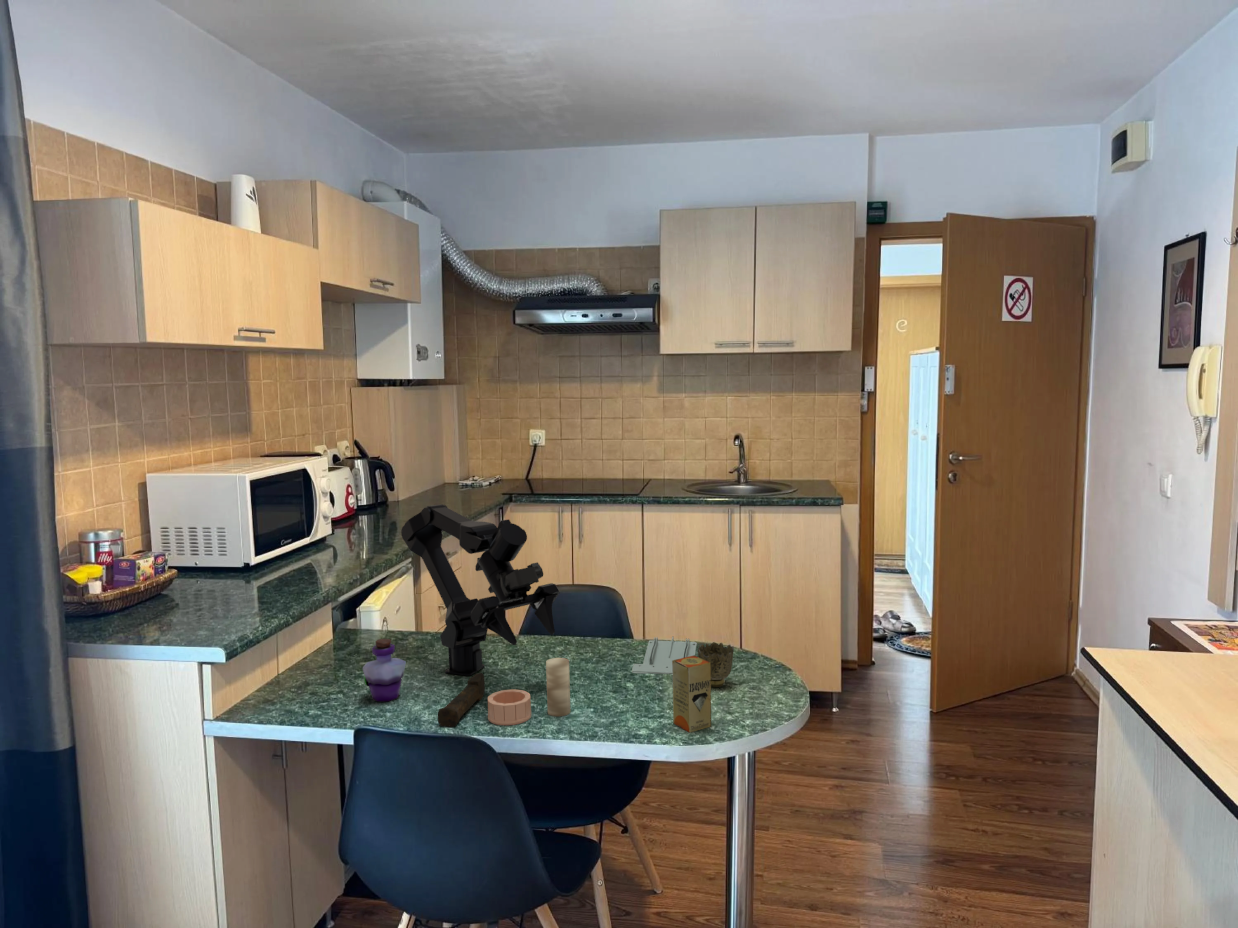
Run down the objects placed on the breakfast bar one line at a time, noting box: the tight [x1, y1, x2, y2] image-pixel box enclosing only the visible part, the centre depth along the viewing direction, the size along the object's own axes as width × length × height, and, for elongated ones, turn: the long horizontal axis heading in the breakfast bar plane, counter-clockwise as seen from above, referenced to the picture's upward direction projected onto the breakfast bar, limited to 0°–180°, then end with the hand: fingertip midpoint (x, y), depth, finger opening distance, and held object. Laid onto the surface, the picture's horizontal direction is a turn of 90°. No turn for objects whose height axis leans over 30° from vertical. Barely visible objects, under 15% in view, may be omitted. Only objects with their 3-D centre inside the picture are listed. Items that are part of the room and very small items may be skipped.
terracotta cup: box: [487, 688, 532, 726], centre depth 161 cm, size 8×8×4 cm
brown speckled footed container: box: [697, 641, 735, 688], centre depth 175 cm, size 8×7×8 cm
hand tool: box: [437, 672, 486, 728], centre depth 166 cm, size 19×4×5 cm, turn 166°
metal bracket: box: [631, 636, 698, 675], centre depth 188 cm, size 14×6×15 cm
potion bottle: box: [362, 638, 407, 703], centre depth 172 cm, size 9×9×12 cm
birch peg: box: [545, 657, 572, 718], centre depth 162 cm, size 4×4×10 cm
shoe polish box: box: [672, 655, 712, 733], centre depth 155 cm, size 5×5×12 cm
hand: (534, 638), depth 167 cm, fingers open, 9 cm apart
